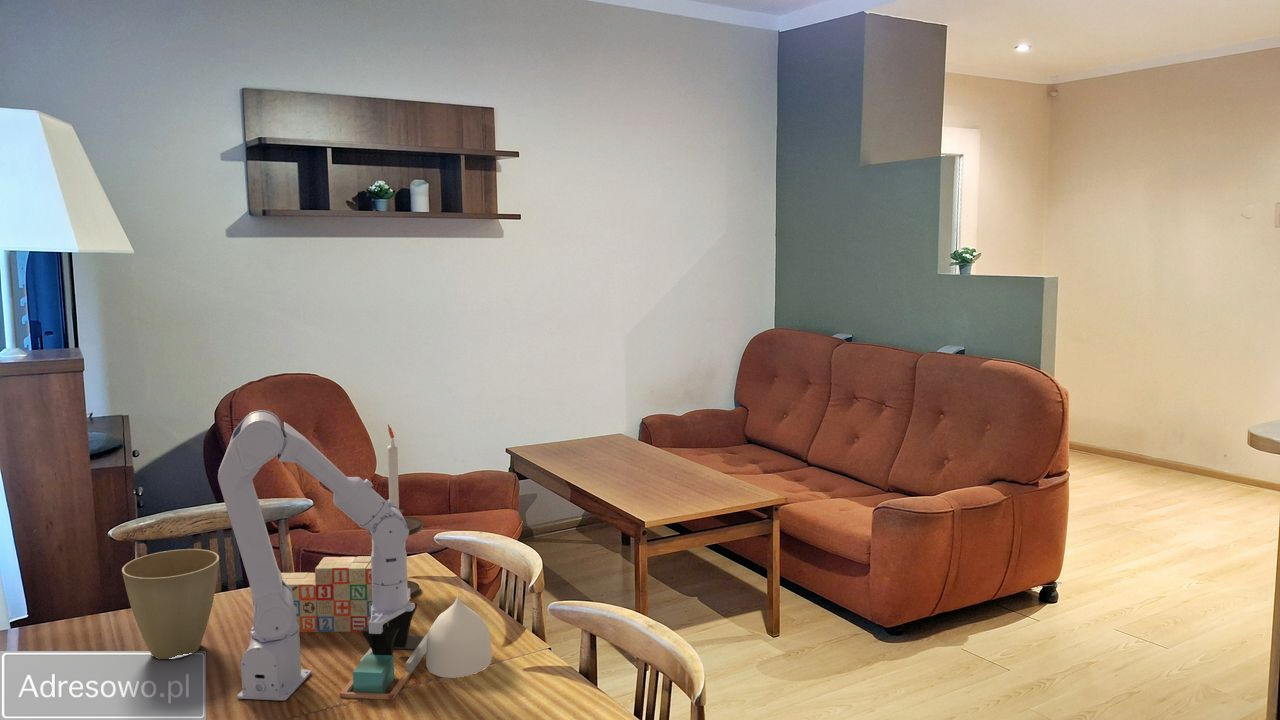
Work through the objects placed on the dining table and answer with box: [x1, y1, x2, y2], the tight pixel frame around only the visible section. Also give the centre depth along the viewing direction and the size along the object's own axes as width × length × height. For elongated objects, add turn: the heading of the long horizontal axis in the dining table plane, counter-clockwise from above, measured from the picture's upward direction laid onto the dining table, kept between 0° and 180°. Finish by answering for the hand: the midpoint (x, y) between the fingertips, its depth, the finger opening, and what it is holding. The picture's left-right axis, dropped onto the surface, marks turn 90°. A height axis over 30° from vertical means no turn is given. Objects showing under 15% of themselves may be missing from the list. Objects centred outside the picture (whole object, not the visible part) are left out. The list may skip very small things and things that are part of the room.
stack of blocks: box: [281, 555, 389, 633], centre depth 168 cm, size 21×6×12 cm, turn 93°
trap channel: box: [339, 629, 430, 701], centre depth 154 cm, size 24×9×2 cm, turn 176°
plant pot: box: [121, 548, 220, 660], centre depth 157 cm, size 15×15×16 cm
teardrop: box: [425, 595, 493, 679], centre depth 153 cm, size 11×11×12 cm
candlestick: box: [366, 424, 423, 598], centre depth 182 cm, size 11×11×35 cm
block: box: [352, 655, 395, 694], centre depth 145 cm, size 6×4×4 cm
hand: (391, 656), depth 153 cm, fingers open, 7 cm apart
